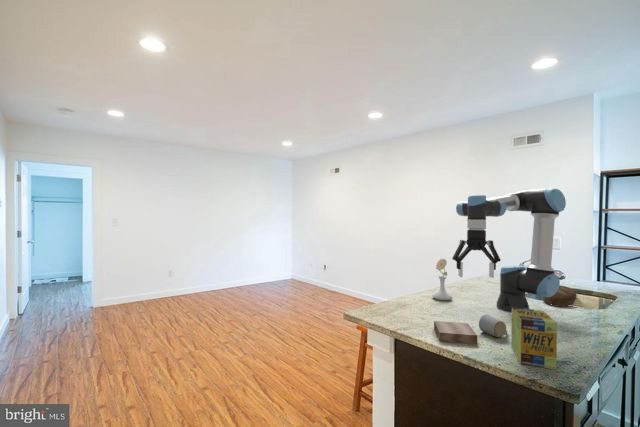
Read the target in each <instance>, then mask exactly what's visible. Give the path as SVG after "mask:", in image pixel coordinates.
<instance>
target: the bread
mask: <svg viewBox="0 0 640 427" xmlns="http://www.w3.org/2000/svg"><path fill="white" fill-rule="evenodd" d="M541 298H542V301H543V302H544V303H546V302H547V303H548V304H547V303H546V304H547V305H549V304H552V305H551V306H553V305H558V306H564V307H568V306H572V305H573V304H574V303H575V302H576V300H577V292H575V290H574V289H572V288H571V287H568V286H565V285H559V288H558V291H557V292H556V293H555V294H554V295H553V296H551V297H543V296H541ZM558 306H557V307H558Z"/></svg>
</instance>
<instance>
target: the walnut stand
mask: <svg viewBox="0 0 640 427" xmlns="http://www.w3.org/2000/svg"><path fill="white" fill-rule="evenodd" d="M433 325H434V326H433V330H434V331H435V334H436V336H437V338H438V341H439V342H444V343H445V342H446V343H456V344H471V345H478V334H477V333H476V331H475V330H474V329H473V328H472V326H471V325H470V324H469V323H468V322H454V321H443V320H442V321H439V320H434V321H433Z"/></svg>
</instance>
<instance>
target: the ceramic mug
mask: <svg viewBox="0 0 640 427" xmlns="http://www.w3.org/2000/svg"><path fill="white" fill-rule="evenodd" d="M478 328H479V330H480V331H481V332H484V333H486V334H488V335H490V336H493V337H495V338H502V337H503V336H504V335H507V334H508V330H507V325H506V323H505V322H504V321H503V320H501V319H500V318H497V317H494V316H492V315H490V314H487V313H485V314H483V315H482V316H481V317H480V318H479V320H478Z"/></svg>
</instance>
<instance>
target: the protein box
mask: <svg viewBox="0 0 640 427" xmlns="http://www.w3.org/2000/svg"><path fill="white" fill-rule="evenodd" d="M557 324H558V323H557V322H556V321H555V319H553V318H552V317H551V316H549V314H548V313H546V312H545V311H544V310H542V309H541V310H539V309H532V308H529V309H524V308H515V307H512V312H511V332H510V333H511V334H510V335H511V337H510V338H511V340H510V342H511V343H510V344H511V348H512V351H513V353H514V354H515V356H516V358H517V360H518V362H519V364H521V365H525V366H531V367H539V368H546V369H549V370H550V369H551V370H557V353H558V352H557V347H558V346H557V341H558V338H557V336H558V331H557V330H558V325H557Z"/></svg>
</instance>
